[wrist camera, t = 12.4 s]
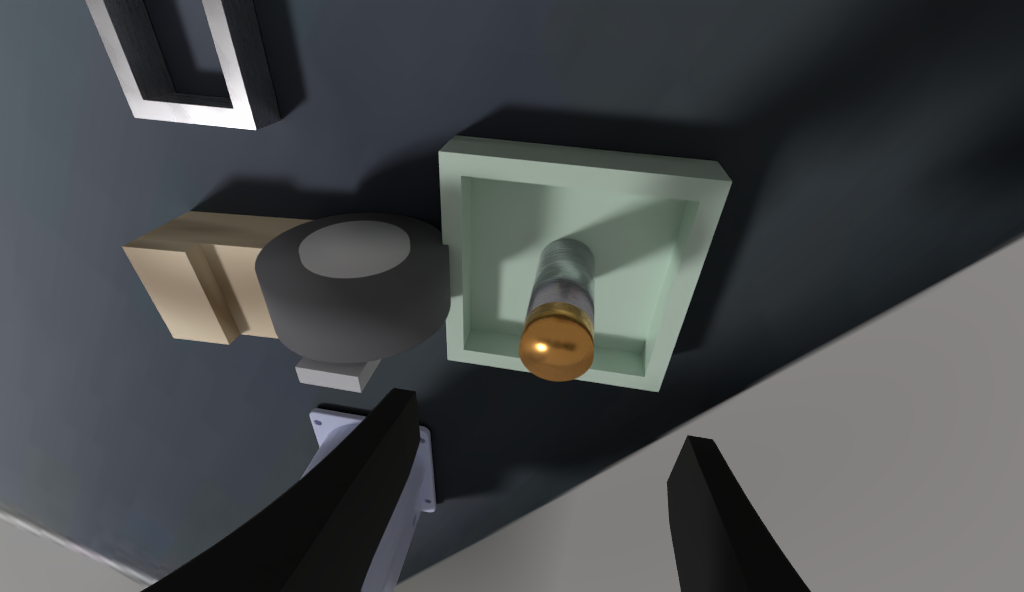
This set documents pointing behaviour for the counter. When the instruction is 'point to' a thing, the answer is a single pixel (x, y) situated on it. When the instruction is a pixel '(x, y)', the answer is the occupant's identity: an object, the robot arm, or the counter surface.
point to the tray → (589, 219)
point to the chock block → (208, 273)
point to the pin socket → (149, 80)
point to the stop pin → (561, 313)
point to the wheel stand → (354, 292)
